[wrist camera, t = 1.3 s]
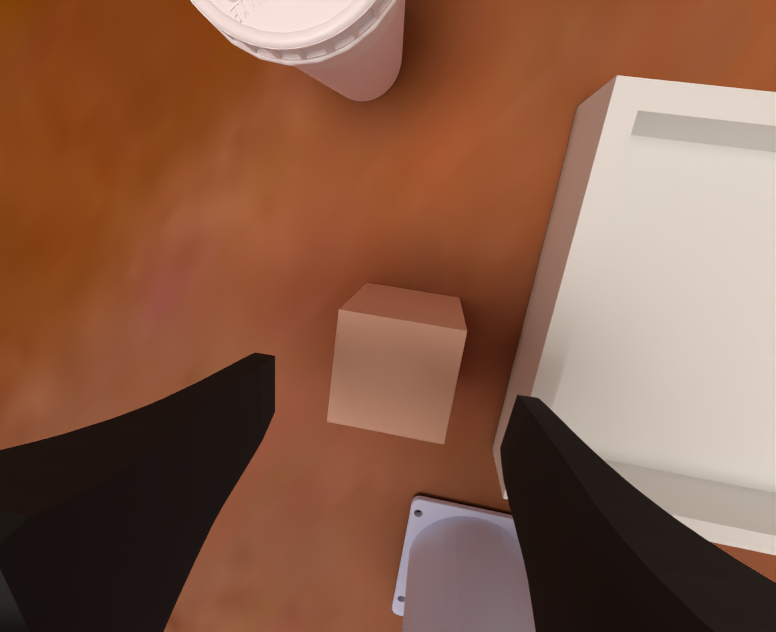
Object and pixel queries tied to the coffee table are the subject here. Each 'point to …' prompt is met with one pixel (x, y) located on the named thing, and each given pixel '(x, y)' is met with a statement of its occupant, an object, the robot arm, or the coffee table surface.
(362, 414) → the brown cube block
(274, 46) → the smoothie
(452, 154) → the coffee table surface
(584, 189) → the tray
